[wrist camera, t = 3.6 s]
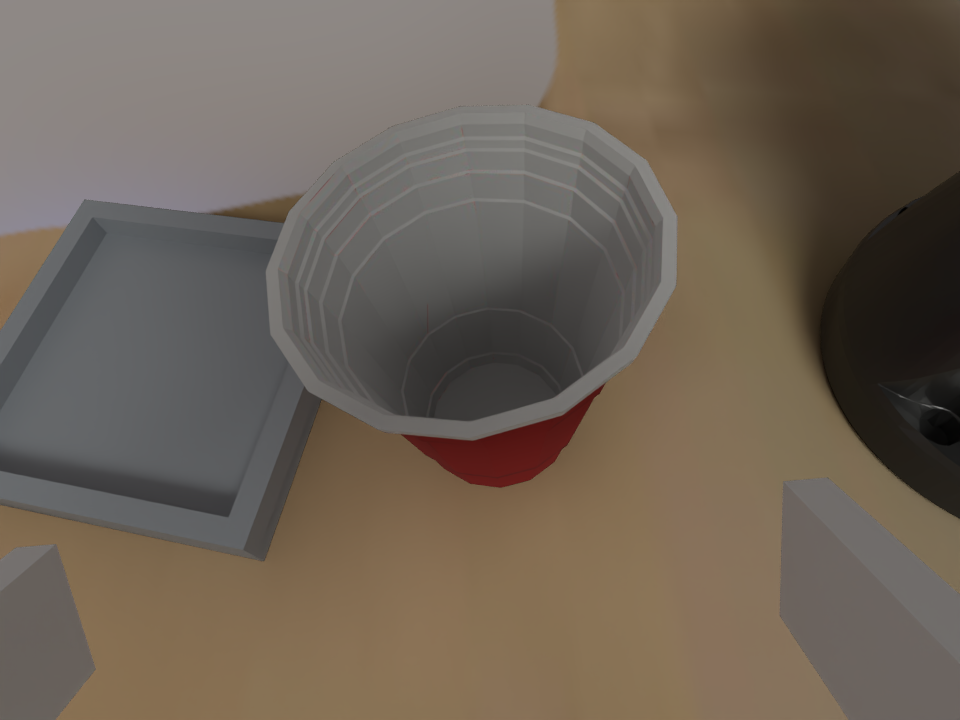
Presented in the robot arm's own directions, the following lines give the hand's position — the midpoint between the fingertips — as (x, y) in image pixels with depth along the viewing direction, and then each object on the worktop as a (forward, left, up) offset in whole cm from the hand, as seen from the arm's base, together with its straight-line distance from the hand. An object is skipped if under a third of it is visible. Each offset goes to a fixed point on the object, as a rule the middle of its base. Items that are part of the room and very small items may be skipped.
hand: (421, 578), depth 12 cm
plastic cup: (+1, -8, -13) cm, 16 cm away
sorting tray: (+16, -8, -13) cm, 22 cm away
